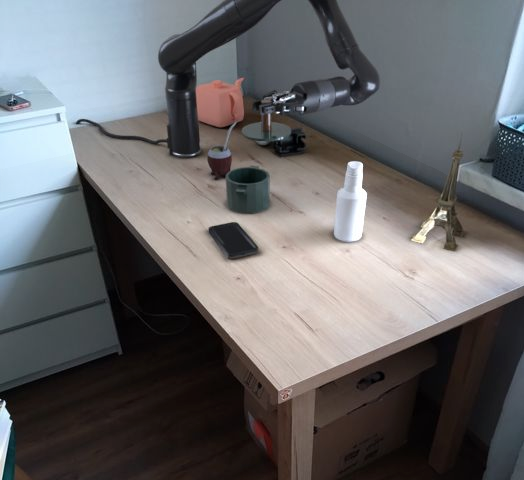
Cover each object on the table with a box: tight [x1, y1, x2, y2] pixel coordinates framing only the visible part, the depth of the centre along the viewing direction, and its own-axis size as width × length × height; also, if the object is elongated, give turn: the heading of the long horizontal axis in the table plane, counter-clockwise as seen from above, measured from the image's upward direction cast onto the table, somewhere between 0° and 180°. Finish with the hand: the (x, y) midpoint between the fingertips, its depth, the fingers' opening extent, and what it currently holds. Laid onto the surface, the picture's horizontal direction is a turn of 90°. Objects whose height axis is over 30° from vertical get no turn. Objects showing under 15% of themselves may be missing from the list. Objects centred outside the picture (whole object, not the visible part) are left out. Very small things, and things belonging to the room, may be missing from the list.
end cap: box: [270, 126, 307, 157], centre depth 175 cm, size 10×7×7 cm
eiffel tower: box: [410, 132, 467, 252], centre depth 126 cm, size 11×11×25 cm
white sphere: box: [254, 140, 271, 146], centre depth 181 cm, size 10×7×7 cm
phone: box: [208, 221, 259, 260], centre depth 132 cm, size 8×1×15 cm
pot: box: [225, 165, 271, 215], centre depth 146 cm, size 11×17×8 cm
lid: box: [241, 99, 292, 142], centre depth 137 cm, size 13×13×8 cm
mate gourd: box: [207, 121, 238, 181], centre depth 158 cm, size 8×8×15 cm
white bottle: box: [333, 160, 368, 243], centre depth 129 cm, size 7×7×18 cm
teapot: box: [196, 77, 245, 128], centre depth 197 cm, size 20×19×14 cm
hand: (256, 108), depth 134 cm, fingers closed on lid, 2 cm apart
